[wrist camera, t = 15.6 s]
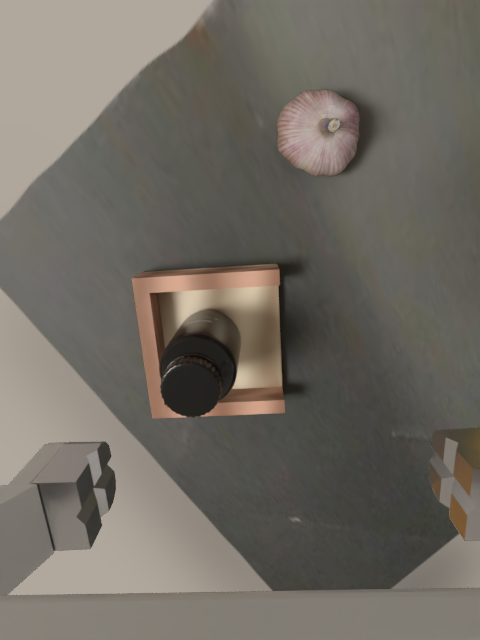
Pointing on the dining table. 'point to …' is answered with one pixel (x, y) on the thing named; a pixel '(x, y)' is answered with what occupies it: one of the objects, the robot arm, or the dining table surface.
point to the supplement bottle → (200, 363)
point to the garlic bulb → (319, 132)
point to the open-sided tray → (232, 300)
